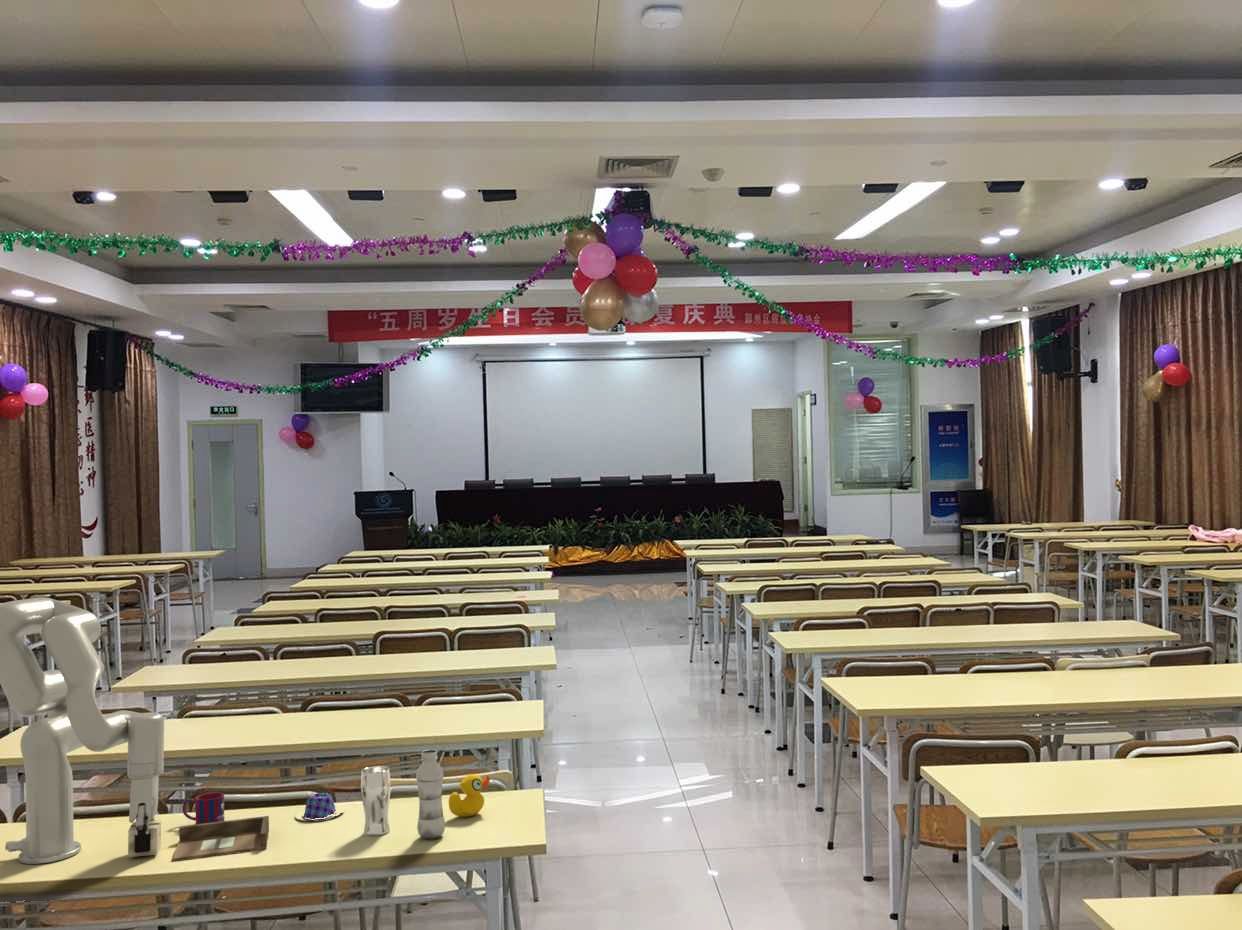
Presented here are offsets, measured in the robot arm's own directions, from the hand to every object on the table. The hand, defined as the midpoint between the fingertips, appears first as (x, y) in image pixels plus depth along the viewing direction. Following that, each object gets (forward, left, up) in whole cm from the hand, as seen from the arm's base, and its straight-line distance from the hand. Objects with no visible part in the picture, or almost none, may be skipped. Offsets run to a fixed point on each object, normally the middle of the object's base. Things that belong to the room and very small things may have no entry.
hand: (144, 846), depth 228 cm
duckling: (+75, -1, -2) cm, 75 cm away
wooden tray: (+17, 0, -2) cm, 17 cm away
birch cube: (0, 0, -1) cm, 1 cm away
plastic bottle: (+64, -14, -2) cm, 65 cm away
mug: (+11, +20, -2) cm, 23 cm away
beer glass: (+52, -5, -2) cm, 52 cm away
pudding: (+39, +15, -2) cm, 42 cm away
